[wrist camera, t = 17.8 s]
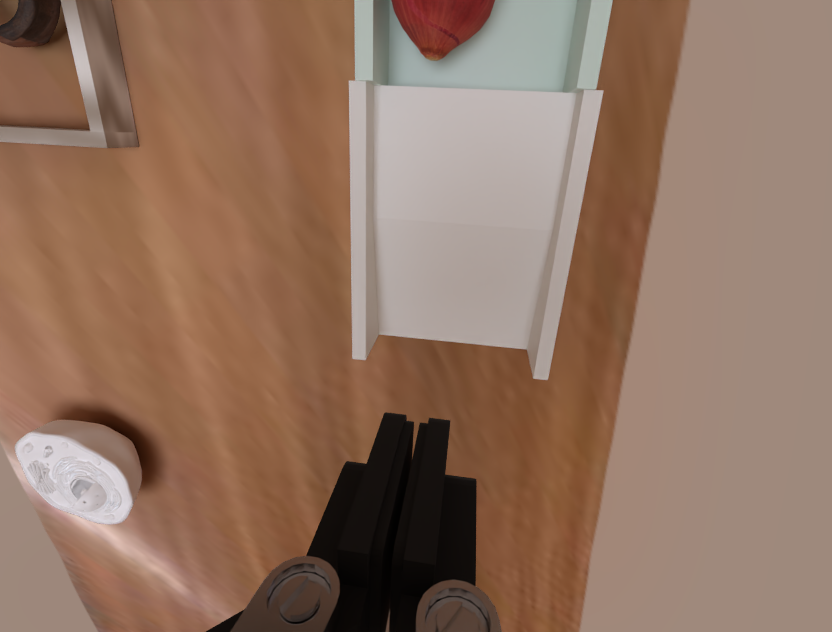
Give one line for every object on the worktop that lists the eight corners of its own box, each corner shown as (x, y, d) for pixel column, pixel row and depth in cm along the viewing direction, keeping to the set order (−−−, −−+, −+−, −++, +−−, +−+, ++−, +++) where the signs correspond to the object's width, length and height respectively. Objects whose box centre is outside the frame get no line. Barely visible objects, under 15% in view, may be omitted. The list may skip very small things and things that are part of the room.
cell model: (81, 380, 42) (12, 422, 36) (183, 453, 44) (134, 505, 38) (46, 438, 46) (-22, 485, 40) (142, 503, 48) (92, 558, 42)
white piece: (538, 345, 35) (547, 380, 30) (369, 328, 37) (352, 358, 32) (581, 98, 28) (603, 90, 23) (371, 89, 30) (348, 80, 25)
